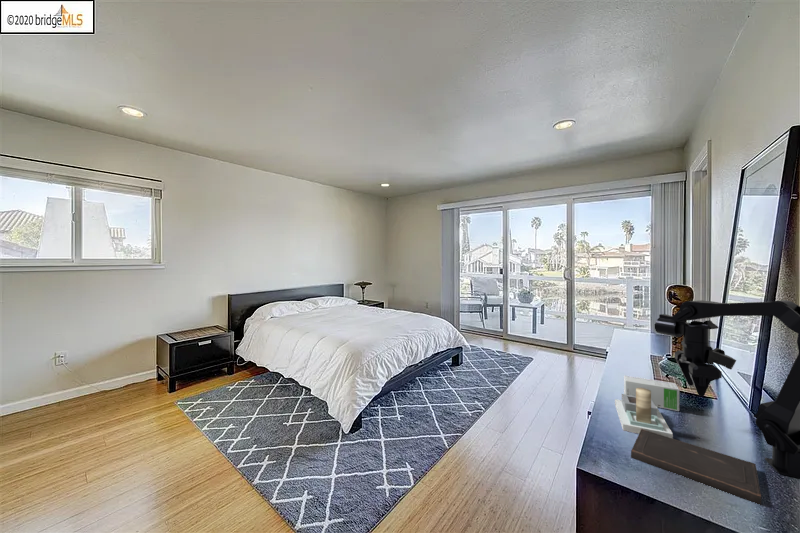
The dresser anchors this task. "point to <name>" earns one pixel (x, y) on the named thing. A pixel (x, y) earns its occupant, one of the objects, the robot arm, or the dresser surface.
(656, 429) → the panel
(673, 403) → the skincare box
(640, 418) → the beige cylindrical rod
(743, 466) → the hardcover book
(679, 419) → the dresser surface
